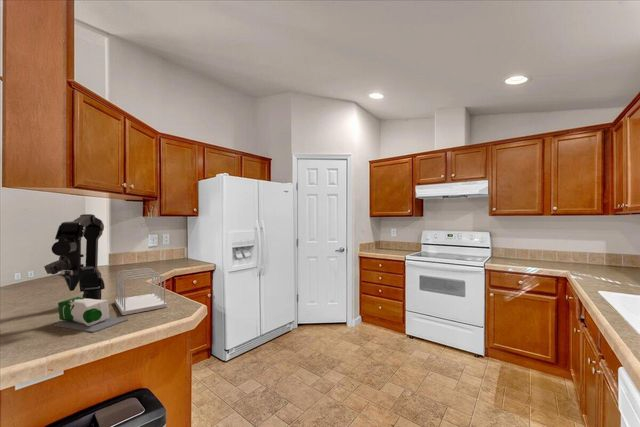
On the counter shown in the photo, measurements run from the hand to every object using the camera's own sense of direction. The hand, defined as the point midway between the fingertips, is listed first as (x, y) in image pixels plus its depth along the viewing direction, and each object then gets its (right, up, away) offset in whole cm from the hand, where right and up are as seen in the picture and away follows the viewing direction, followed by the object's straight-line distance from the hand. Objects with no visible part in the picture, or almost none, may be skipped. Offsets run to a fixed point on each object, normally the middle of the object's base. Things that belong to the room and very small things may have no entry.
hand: (71, 290), depth 118 cm
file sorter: (+16, -12, +19) cm, 28 cm away
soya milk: (-1, -7, 0) cm, 7 cm away
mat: (+11, -12, -4) cm, 17 cm away
